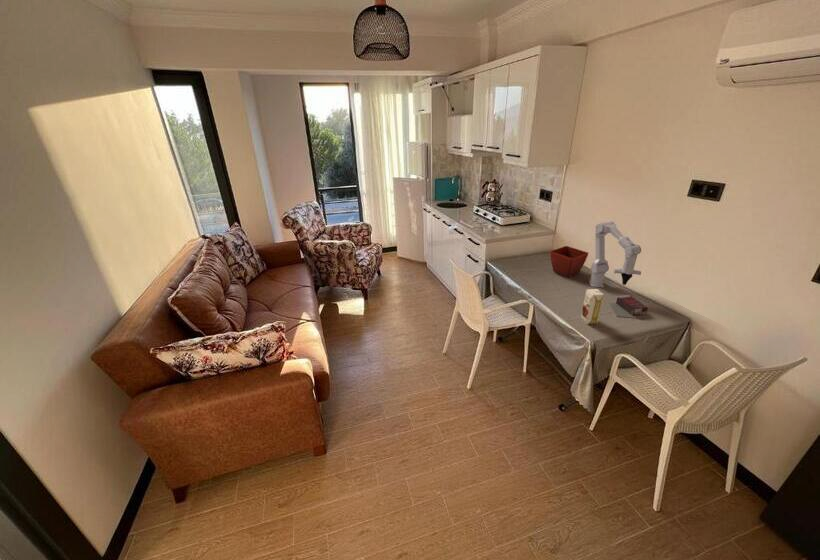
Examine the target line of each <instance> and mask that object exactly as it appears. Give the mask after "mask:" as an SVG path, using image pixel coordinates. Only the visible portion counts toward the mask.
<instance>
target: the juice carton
mask: <svg viewBox="0 0 820 560" xmlns="http://www.w3.org/2000/svg"><path fill="white" fill-rule="evenodd" d="M604 299H605V294H604V293H602V292H601V291H600V290H599V289H598V288H593V289H592V288H591V289H589V288H588V289H586V292H585V295H584V300H583V304H582V305H583V306H582V310H581V315H580V318H581V320H582V321H583V322H584V323H585V324H586V325H595V324H598V323H599V319H600V315H601V312H602V311H601V310H602V308H603V303H604Z"/></svg>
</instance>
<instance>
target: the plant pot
mask: <svg viewBox="0 0 820 560" xmlns="http://www.w3.org/2000/svg"><path fill="white" fill-rule="evenodd" d="M588 256H589V252H587V251H584V250H582V249H581V250H580V249H577V248H575V247H572V246H568V245H565V246H562V247H559V248H556V249H553V250H552V249H551V250H550V262H551V263H550V264H551V268H552V271H553V272H554V273H556V274H559V275H561V276H564V277H565V278H570V277H572V276H574V275H577V274H579V272H580V271H581V270H582V268H583V266H584V265H585V262H586V261H587V259H588Z"/></svg>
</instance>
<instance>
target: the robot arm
mask: <svg viewBox="0 0 820 560" xmlns="http://www.w3.org/2000/svg"><path fill="white" fill-rule="evenodd" d="M594 234H595V235H594V238H595V239H594V240H595V242H594V243H595V246H594V247H595V249H594V250H595V252H594V253H595V260H593V261H592V262H591V267H590V270H591V275H590V277H589V278H590V279H589V280H588V283H589V284H590V286H591V287H592V288H593V287H594V288H597V287H598V288H604V287H605V285H604V279H605V274H607V272H609V270H610V267H609V262H608V260H606V256H605V255H606V253H605V251H606V250H605V249H606V248H605V244H606V243H605V242H606V241H605V236H606V235H608V234H611V235H612V236H613V237H614V238H616V240H618V244H619V246H621V248H623V250H624V253H625V254H624V261H623V265H622V268H618V269H613V274H620V276H621V279H622V280H621V281H622V282H621V283H622V286H626V285H627V283H628V282H629V280H630V279H631V278H633V275H638V276H641V275H642V271H641V270H638V269H636V270H635V265H636V263H637V259H638V255H640V254H641V253H642V247H641V245H639V244H636V243H634V242H633V241H632V240H631V239H630V237H629V236H624V235H623V234H622V232H621V231H620V230H619V229H618V227H617V224H616V223H615V222H614V221H607V222H599V223H597V224H596V225H595V233H594Z"/></svg>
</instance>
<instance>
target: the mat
mask: <svg viewBox="0 0 820 560" xmlns="http://www.w3.org/2000/svg"><path fill="white" fill-rule="evenodd" d="M608 304H609V306H610V307H611V309H612V310H613V312H614V314H615V316H616V317H618V318H627V319H628V318H629V319H640V320H642V319H643V317H642V315H634V316H633V315H631V314H630V313H629V312H627V311H626V310H625V309H623V308H622V307H621V306H619V305H618V304H617V303H615V302H609V303H608Z"/></svg>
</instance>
